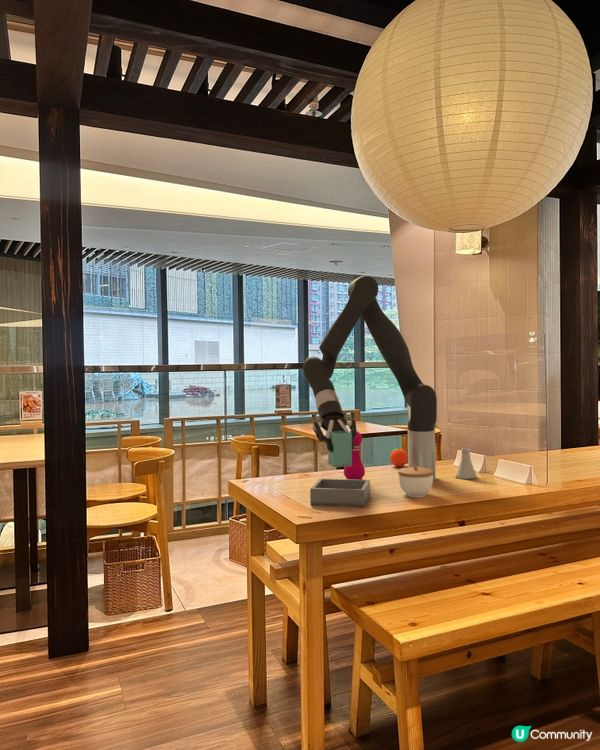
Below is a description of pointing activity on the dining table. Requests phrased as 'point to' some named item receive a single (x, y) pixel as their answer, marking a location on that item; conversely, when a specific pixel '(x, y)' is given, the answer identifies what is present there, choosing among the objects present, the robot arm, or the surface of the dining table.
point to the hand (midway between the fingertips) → (341, 450)
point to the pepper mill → (355, 461)
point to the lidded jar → (415, 480)
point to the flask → (466, 466)
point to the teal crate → (340, 449)
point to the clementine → (398, 457)
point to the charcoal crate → (340, 492)
